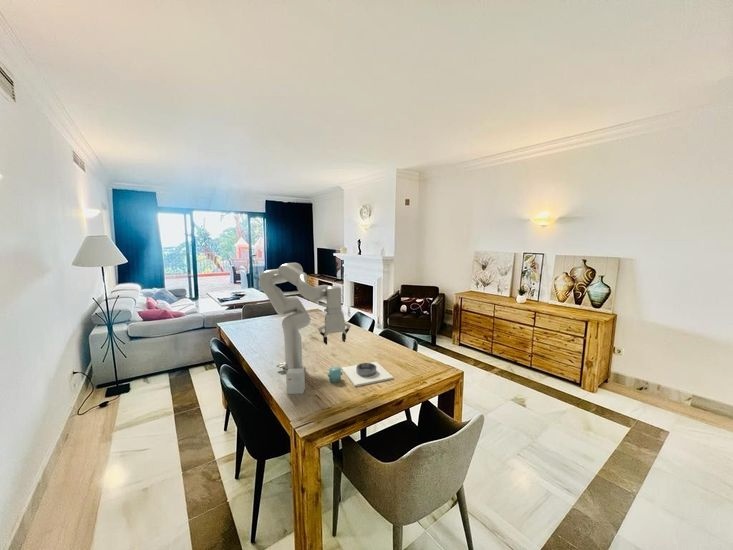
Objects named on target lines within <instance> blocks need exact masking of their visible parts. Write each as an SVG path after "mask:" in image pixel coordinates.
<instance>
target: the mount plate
mask: <svg viewBox="0 0 733 550" xmlns="http://www.w3.org/2000/svg"><path fill="white" fill-rule="evenodd" d="M370 363H371V364H374V365H375V366H376V374H375V375H373V376H370V377H362V376H360V375H358V374H357V373H356V367H357V365H358V364H355V365H354V364H353V365H348V366H342V367H340V368H341V371H342V373H344V375H345V377H346V378H347V379H348V380H349V382H351V384H352V385H353V387H355V388H356V387H361V386H365V385H371V384H375V383H381V382H384V381H385V382H386V381H390V380H394V376H393V375H392V374H391V373H390V372H389V371H387V370H386V368H384V367H383V366H382V365H381V364H380V363H379V362H377V361H372V362H370ZM362 370H371V369H362Z"/></svg>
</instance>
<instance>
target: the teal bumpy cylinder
mask: <svg viewBox="0 0 733 550" xmlns="http://www.w3.org/2000/svg"><path fill="white" fill-rule="evenodd" d="M341 368H342V367H339V366H331V367H329V369H328V373H327V377H328V378H329V382H330V383H333V384H334V383H335V384H336V383H339V382H341V380H342V378H341V376H343V371H342V369H341Z"/></svg>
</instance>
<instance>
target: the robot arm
mask: <svg viewBox="0 0 733 550" xmlns="http://www.w3.org/2000/svg"><path fill="white" fill-rule="evenodd" d="M308 276H309V275H308V274H307V273H306V272H304V269H303V267H302V265H301V264H300V263H298V262H287V263H283V264H280V266H279V267H278V268H276V269H275V268H274V269H267V270H264V271H263V272H261V274H260V275H259V278H258V279H259V280H258V282H259V287H260V288H261V290H262V291H263V293H264V294H265V295H266V297H267V298H268V300H269V301H270V303H271V305H272V307H273V308H274V311H275V312H276V313H277V315H278V316H285V317H284V318H283V319H282V320H281V328H282V331H283V341H284V360H283V362H282V363H276V368H279V369H282V372H284V373H285V374H286V373H287V371H288V369H299V368H304V370H305V369H306V365H305V364H304V363H303V346H302V343H303V342H302V335H301V333H300V330H302V329H304V328H306V327H308V326H309V325H310V323H311V317H310V315H309V313H308V311H307V309H306V308H305V306H304V305H303V302H302V301H301V300H300V299H299V298H298V297H296V296H288V297H287V296H286V295H285V294H284V292H283V291H282V289H281V288H280V287H278V286H276V285H277V284H282V283H286V282H289V283H291V285H294V286H296V289H297V291H298V293H299V294H300V295H301V296H302V297H304V298H305V299H307V301H308V300H309V301H311V302H314V303H315V302H319V301H323V300H326V308H324V310H323V312H324V313H325V316H324V324H322V326H320V327H318V328H317V330H318V333H320V335H321V336H322V337H323V339H322V340H323V341H322V342H323V343H324V344H325V346H326V345H328V337H327V336H328V334H329V335H330V334H337V333H341V341H342V342H344V343H345V342H346V340H347V333H349V331H350V328H351V327H352V326H351V324H349V323H347V322H345V315H344V312H342V288H341V287H340V286H337V285H336V286H334V285H328V284H322V285H315V286H313V285H310V283H308V279H309V278H308ZM286 315H287V316H286ZM322 330H324V332H323V331H322Z"/></svg>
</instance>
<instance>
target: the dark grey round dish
mask: <svg viewBox="0 0 733 550" xmlns="http://www.w3.org/2000/svg"><path fill="white" fill-rule="evenodd" d="M356 365H357V367H356V373H357V374H358V375H360V376H362V377H370V376H373V375H375V374H376V366H375V365H374V364H371V362H364V363H359V364H356ZM362 369H371V370H362Z"/></svg>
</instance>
